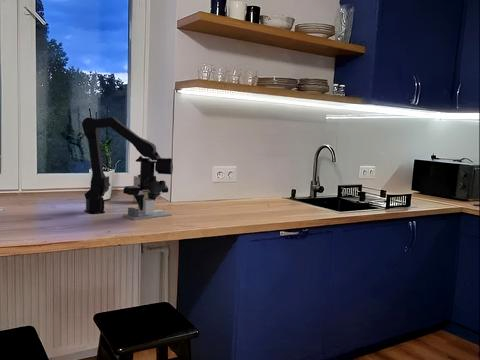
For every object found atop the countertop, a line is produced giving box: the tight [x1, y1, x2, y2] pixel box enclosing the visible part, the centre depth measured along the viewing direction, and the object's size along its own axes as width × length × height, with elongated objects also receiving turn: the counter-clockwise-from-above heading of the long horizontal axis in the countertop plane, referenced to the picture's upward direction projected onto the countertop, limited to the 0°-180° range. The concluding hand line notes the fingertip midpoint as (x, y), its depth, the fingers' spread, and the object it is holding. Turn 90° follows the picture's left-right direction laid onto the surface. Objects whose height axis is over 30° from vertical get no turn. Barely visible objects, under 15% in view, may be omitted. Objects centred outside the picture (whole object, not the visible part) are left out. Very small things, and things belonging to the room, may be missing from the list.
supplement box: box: [132, 174, 150, 204], centre depth 212 cm, size 8×5×13 cm, turn 84°
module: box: [137, 198, 155, 214], centre depth 184 cm, size 4×6×6 cm, turn 46°
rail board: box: [122, 207, 172, 221], centre depth 185 cm, size 18×9×4 cm, turn 135°
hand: (145, 209), depth 184 cm, fingers closed on module, 4 cm apart
